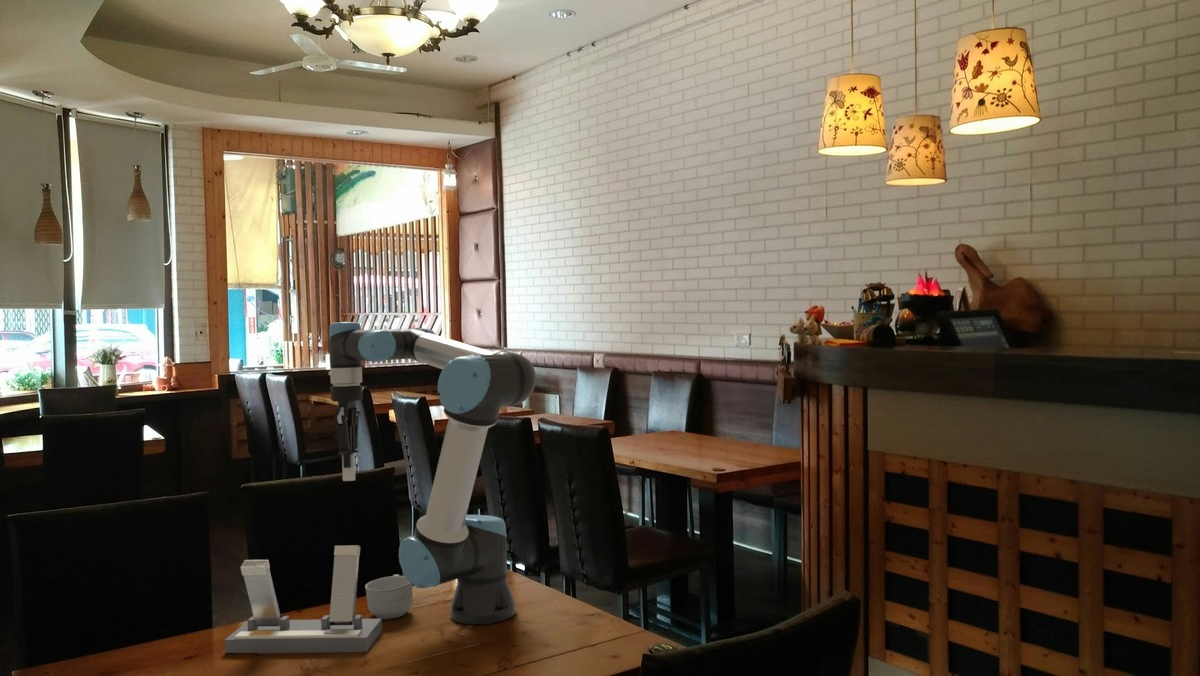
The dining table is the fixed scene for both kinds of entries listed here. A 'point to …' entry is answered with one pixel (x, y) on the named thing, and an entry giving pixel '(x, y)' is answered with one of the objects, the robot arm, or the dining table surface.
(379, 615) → the teacup
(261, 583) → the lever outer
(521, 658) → the dining table surface
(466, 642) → the dining table surface
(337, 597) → the lever inner
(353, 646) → the grey stand base
